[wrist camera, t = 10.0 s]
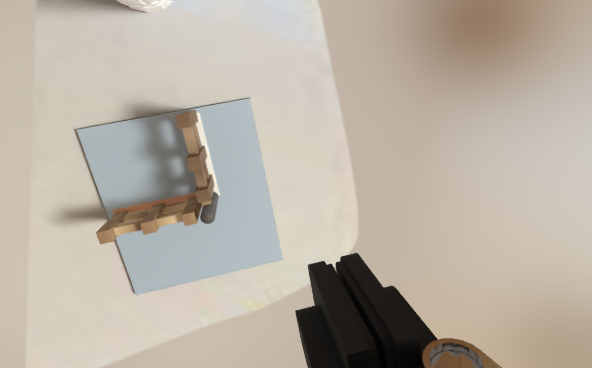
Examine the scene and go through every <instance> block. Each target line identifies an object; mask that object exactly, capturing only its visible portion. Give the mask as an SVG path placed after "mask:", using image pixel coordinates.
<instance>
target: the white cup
mask: <svg viewBox="0 0 592 368" xmlns="http://www.w3.org/2000/svg"><path fill="white" fill-rule="evenodd" d="M116 1H118V2H120V3H122V4H124V5H127V6H129V7H130V8H132V9H135V10H139V11H143V12H147V13H151V12H156V11H160V10H164V9H165V8H167V7H168V6H169V5H170V4H171V3H172V2H173V1H174V0H116Z"/></svg>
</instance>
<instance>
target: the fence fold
mask: <svg viewBox="0 0 592 368" xmlns="http://www.w3.org/2000/svg"><path fill="white" fill-rule="evenodd" d="M201 209H202V203H198V201H197V197H196V196H195V197H191V198H189V199H188V201H184V202H180V203H175V204H170V205H165V203H161V204H156V205H153V206H152V208H150V209H145V210H140V211H136V212H131V213H128V211H122V212H117V213H115V214H114V215H113V216H112V217H111V218H110V219H109V220H108V221H107V222H106V223H105V224H104V225H103V226H102V227H101V228H100V229H99V230H98V231H97V232H96V234H97V237H98V239H99V242H100V244H104V243H108V242H113V241H114V240H115V239H116V238H117V236H118V235H122V234H126V233H131V232H136V231H140V230H142V231H143V235H146V234H151V233H155V232H157V230H158V229H159V227H160V226H164V225H169V224H174V223H178V222H184V225H185V226H188V225H193V224H197V222H198V219H199V216H200V212H201Z"/></svg>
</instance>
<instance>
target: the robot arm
mask: <svg viewBox="0 0 592 368" xmlns="http://www.w3.org/2000/svg"><path fill="white" fill-rule="evenodd" d="M308 270H309V276H310V281H311V287H312V293H313V298H314V303H315V306H312V307H308V308H304V309H300V310H296V317H297V322H298V327H299V332H300V337H301V341H302V346H303V350H304V354H305V358H306V362H307V366H308V368H501V367H500V366H499V365H498V364H497V363H495V362H494V361H493V360H492V359H491V358H489V357H488V356H487V355H486V354H485V353H483V352H482V351H481V350H480V349H478V348H477V347H475V346H474V345H472V344H470V343H468V342H465V341H462V340H458V339H453V338H446V339H445V338H443V339H439V340H438V339H437V338H436V337H435V335H434V334H433V333H432V332H431V331H430V329H429V328H428V327H427V326H426V325H425V323H424V322H423V321H422V320H421V318H420V317H419V316H418V315H417V314H416V312H415V311H414V310H413V309H412V307H411V306H410V305H409V304H408V302H407V301H406V300H405V299H404V297H403V296H402V295H401V294H400V293H399V291H398V290H397V289H396V288H395V287H394V286H389V287H385V288H383V287H382V285H381V284H380V282H379V281H378V280H377V278H376V277H375V276H374V274H373V273H372V272H371V270H370V269H369V268H368V266H367V265H366V264H365V263H364V261H363V260H362V258H361V257H360V256H359V254H357V253H354V254H350V255H346V256H342V257H341V258H340V262H336V271H337V272H336V271H335V269H334V267H333V265H332V264H328V265H326V263H325V261H321V262H317V263H313V264H309V265H308Z"/></svg>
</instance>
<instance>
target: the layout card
mask: <svg viewBox="0 0 592 368" xmlns="http://www.w3.org/2000/svg"><path fill="white" fill-rule="evenodd" d="M194 110H196V114H197V117H198V122H197V123H196V126H197V130H198V134H199V137H200V141H201V145H202V146H205V149H206V153H207V158H206V165H207V169H208V173H209V175H212V177H213V181H214V189H213V191H214V192H216V193H217V194H218V203H217V209H216V215H215V220H214V221H213V222H212V223H210V224H205V223H203V222H202V221H201V219H200V216H199V219H198V222H197V224H193V225H188V226H185V225H184V222H178V223H174V224H169V225H164V226H160V227H159V229H158V230H157V232H155V233H151V234H146V235H143V231H142V230H140V231H136V232H131V233H126V234H122V235H118V236H117V238H116V241H117V244H118V246H119V249H120V252H121V255H122V258H123V260H124V263H125V266H126V269H127V271H128V274H129V277H130V280H131V282H132V285H133V288H134V291H135V294H136V295H139V294H143V293H147V292H152V291H156V290H160V289H164V288H168V287H172V286H176V285H181V284H185V283H189V282H193V281H197V280H201V279H205V278H210V277H214V276H218V275H222V274H226V273H230V272H234V271H239V270H243V269H247V268H251V267H255V266H259V265H263V264H268V263H272V262H276V261H280V260H283V258H282V253H281V248H280V243H279V238H278V233H277V228H276V223H275V219H274V214H273V209H272V204H271V199H270V194H269V189H268V184H267V179H266V175H265V170H264V165H263V160H262V155H261V150H260V145H259V140H258V135H257V131H256V126H255V121H254V116H253V111H252V106H251V101H250V98H248V99H243V100H237V101H232V102H226V103H221V104H215V105H210V106H204V107H199V108H193V109H188V110H182V111H177V112H171V113H166V114H160V115H155V116H149V117H144V118H138V119H133V120H127V121H122V122H116V123H111V124H105V125H100V126H94V127H89V128H83V129H78V130H77V133H78V136H79V138H80V141H81V144H82V147H83V149H84V152H85V155H86V158H87V161H88V163H89V166H90V169H91V172H92V174H93V177H94V180H95V183H96V185H97V188H98V191H99V194H100V197H101V199H102V202H103V205H104V208H105V210H106V213H107V216H108V219H110V218H111V217H112V216H113V215H114V214H115V213H117V212H122V211H128V213H131V212H136V211H140V210H145V209H150V208H152V206H153V205H156V204H161V203H165V205H170V204H175V203H180V202H184V201H188V199H189V198H191V197H195V196H196V193H195V191H196V188H197V182H196V179H195V175H194V171H193V170H191V171H189V168H188V164H187V160H186V158H187V156H188V155H189V153H188V149H187V145H186V142H185V138H184V134H183V130H182V129H178V127H177V124H176V120H175V116H176V115H179V114H181V113H184V112H188V111H194ZM202 208H203V205H202ZM201 211H202V209H201ZM200 215H201V212H200Z"/></svg>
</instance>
